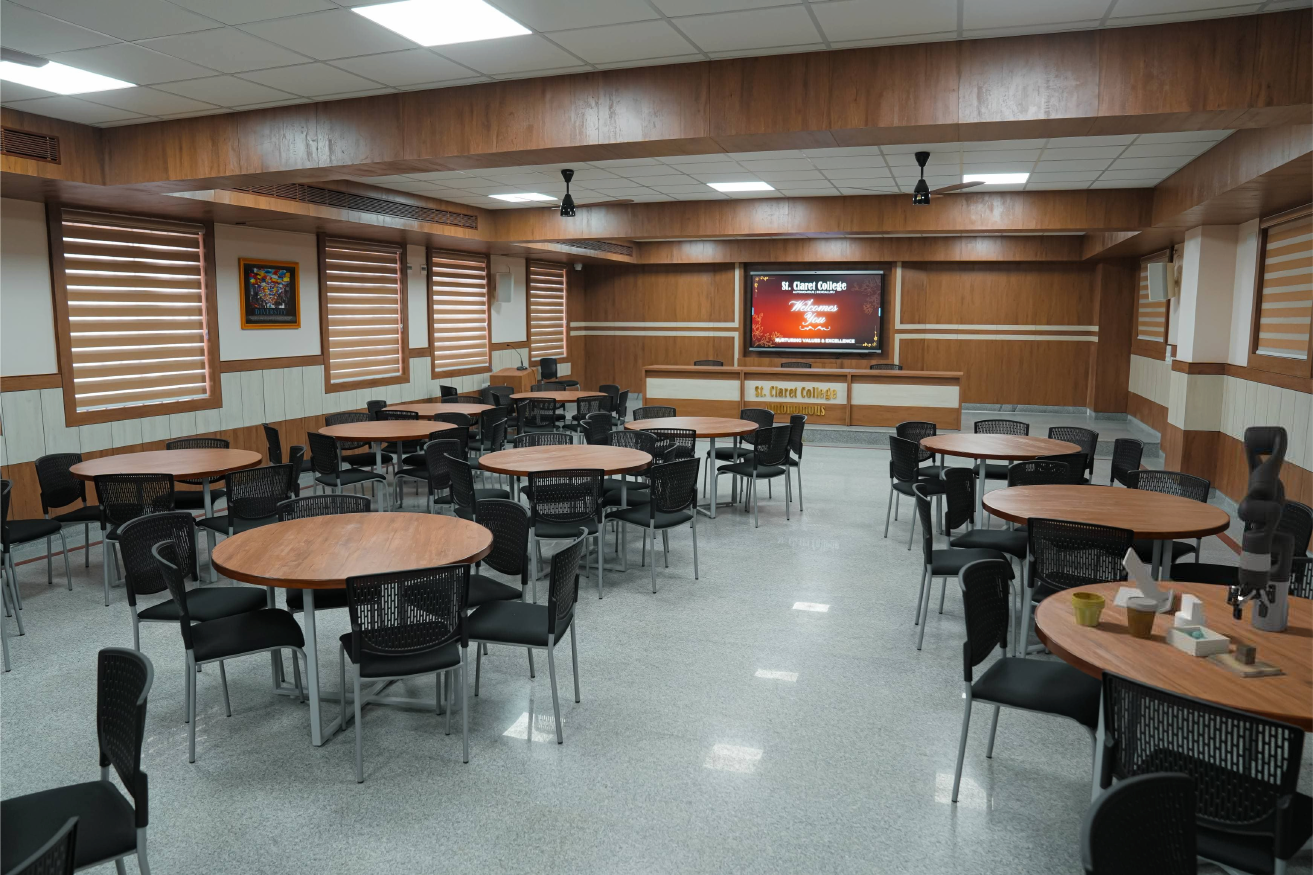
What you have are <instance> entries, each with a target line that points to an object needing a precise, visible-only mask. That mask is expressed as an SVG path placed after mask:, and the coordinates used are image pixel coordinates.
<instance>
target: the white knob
mask: <svg viewBox="0 0 1313 875" xmlns="http://www.w3.org/2000/svg"><path fill="white" fill-rule="evenodd" d="M1203 604H1204V602H1203V601H1201V600H1200V599H1198V598H1197V597H1196V596H1194V595H1193V594H1189V593H1188V594H1186V593H1182V595H1181V605H1180V606H1181V608H1180V611H1179V610H1178V611H1176V612H1175V615H1174V625H1173V627H1182V626H1196V625H1200V626H1202V627H1205V628H1207V621H1208V617H1207V616H1205V615H1204V614H1203V606H1204V605H1203Z"/></svg>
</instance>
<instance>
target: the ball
mask: <svg viewBox="0 0 1313 875" xmlns="http://www.w3.org/2000/svg"><path fill="white" fill-rule="evenodd" d="M1192 638H1194V639H1196V640H1198V639H1200V638H1204V635H1203V633H1201V632H1199V631H1195V632H1193V634H1192Z"/></svg>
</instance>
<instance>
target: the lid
mask: <svg viewBox="0 0 1313 875" xmlns="http://www.w3.org/2000/svg"><path fill="white" fill-rule="evenodd" d="M1256 654H1257V647H1255V646H1254V645H1251V644H1249V643H1247V642H1246V643H1237V644H1236V647H1235V652H1232V653H1231V652H1229V653H1227V654H1214V655H1209V656H1208V657H1209V658H1210V659H1212V660H1214V661H1216V662H1218V663H1220V664H1222V665H1224V666H1226V667H1228V668H1230V669H1232V670H1234V671H1236V672H1238V673H1240V674H1242V675H1253V674H1266V673H1279V672H1283V668H1281V667H1280V666H1276V665H1274V664H1272V663H1270V662H1268V661H1266V660H1263V659H1262V658H1259V657H1257V656H1256Z"/></svg>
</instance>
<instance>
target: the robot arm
mask: <svg viewBox="0 0 1313 875" xmlns="http://www.w3.org/2000/svg"><path fill="white" fill-rule="evenodd" d="M1288 438H1289V437H1288V432H1287V430H1286V428H1285V427H1284V426H1280V425H1276V426H1275V425H1274V426H1273V425H1272V426H1271V425H1270V426H1269V425H1267V426H1263V425H1262V426H1260V425H1259V426H1258V425H1257V426H1249V427H1247V428H1245V431H1244V434H1243V443H1244V444H1243V445H1244V451H1245V456H1246V462H1247V467H1248V475H1249V479H1248V486H1247V492H1246V493H1245V496H1244V497H1243V499H1242V500H1241V502H1240V503H1239V505H1238V508H1237V516H1238V518H1239V520H1240V521H1242V523H1248V524H1252V526H1253V527H1252V528H1253V530H1246V531H1244V532H1243V534H1242V541H1241V542H1242V543H1241V552H1240V556H1239V564H1238V565H1239V566H1238V576H1237V577H1238V580H1239V584H1238V585H1232V584H1230V585H1229V588H1228V594H1227V600H1226V604H1227V605H1229V606H1231V607H1232V617H1233V619H1234V620H1237V621H1242V619H1243V618H1242V617H1243V607H1244V606H1245V604H1247V603H1249V601H1252V610H1251V620H1250V625H1251V626H1252V627H1253V628H1255V629H1258V630H1262V631H1267V632H1278V633H1279V632H1283V631H1285V630H1287V629H1288V622H1289V621H1288V620H1289V610H1290V601H1288V597H1289V596H1288V595H1289V586H1290V580H1291V579H1290V578H1291V571H1292V564H1293V563H1292V562H1293V557H1294V553H1295V545H1296V544H1295V542H1296V541H1295V540H1296V539H1295V537H1294V535H1293V534H1291V533H1286V532H1280V531H1275V530H1276V528H1277V526H1278V524H1279V523H1280V520H1281V518H1282V517H1283V516H1282V515H1283V508H1284V507H1285V505H1286V493H1285V491H1286V490H1285V485H1284V482H1283V481H1282V480H1281V479H1280V478H1279V475H1280V472H1281V469H1282V467H1283V464H1284V460H1285V457H1286V455H1287V454H1286V453H1287V449H1288V443H1289V442H1288V441H1289V439H1288ZM1261 456H1269V457H1268V458H1267V459H1265V460H1264V461H1263V459H1262V457H1261ZM1271 559H1272V560H1277V563H1275V564H1273V565H1272V564H1271V562H1272V560H1271Z"/></svg>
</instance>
